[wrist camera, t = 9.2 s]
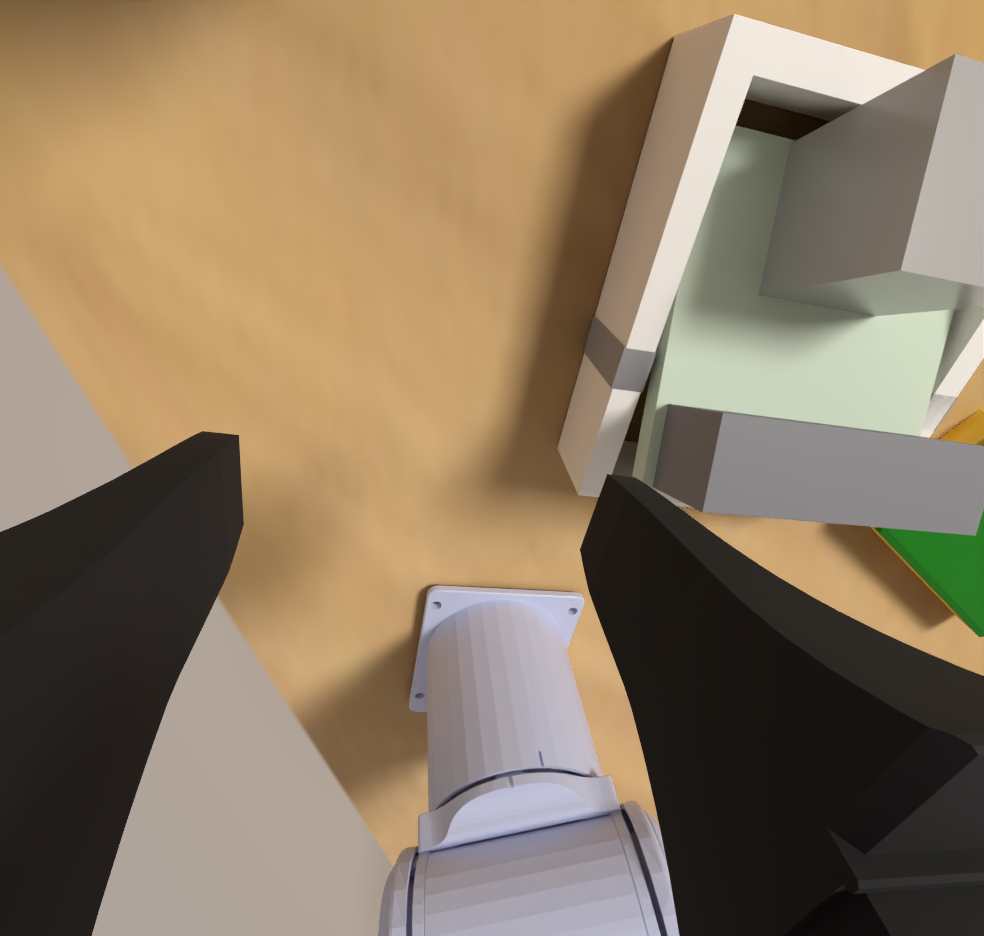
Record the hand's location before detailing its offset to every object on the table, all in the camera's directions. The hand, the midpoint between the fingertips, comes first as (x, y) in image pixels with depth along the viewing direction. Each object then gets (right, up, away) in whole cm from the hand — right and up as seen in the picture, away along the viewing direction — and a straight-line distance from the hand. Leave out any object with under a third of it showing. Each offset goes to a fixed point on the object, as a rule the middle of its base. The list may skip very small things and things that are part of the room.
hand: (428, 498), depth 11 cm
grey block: (+12, +8, +7) cm, 16 cm away
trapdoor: (+12, +5, +8) cm, 15 cm away
